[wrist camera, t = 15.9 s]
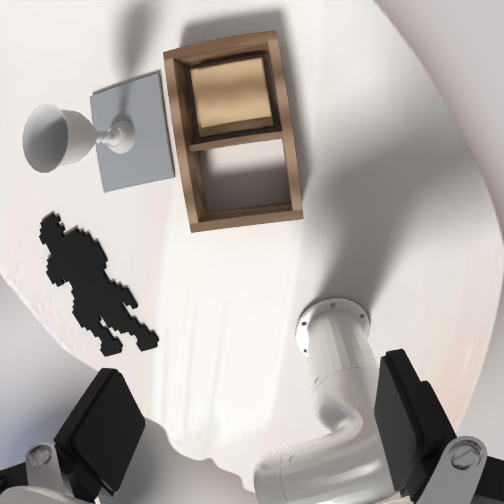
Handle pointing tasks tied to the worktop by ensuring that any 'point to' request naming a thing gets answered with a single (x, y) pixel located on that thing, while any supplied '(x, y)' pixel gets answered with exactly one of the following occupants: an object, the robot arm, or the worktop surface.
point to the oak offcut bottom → (238, 125)
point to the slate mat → (146, 128)
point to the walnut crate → (189, 149)
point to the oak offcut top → (231, 93)
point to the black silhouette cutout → (92, 287)
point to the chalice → (68, 137)
